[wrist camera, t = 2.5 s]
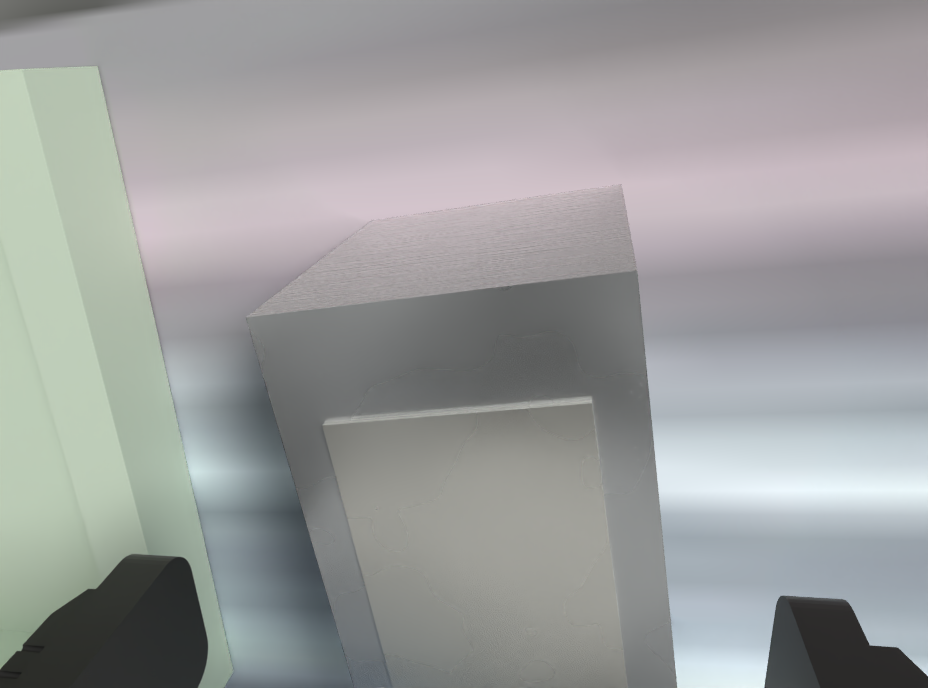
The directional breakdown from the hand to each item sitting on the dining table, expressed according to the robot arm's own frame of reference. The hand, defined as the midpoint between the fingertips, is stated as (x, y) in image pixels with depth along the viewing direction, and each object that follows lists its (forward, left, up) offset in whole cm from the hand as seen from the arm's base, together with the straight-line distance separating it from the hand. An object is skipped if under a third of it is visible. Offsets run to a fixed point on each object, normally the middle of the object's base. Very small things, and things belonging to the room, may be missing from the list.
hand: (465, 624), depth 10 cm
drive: (0, +1, -7) cm, 7 cm away
